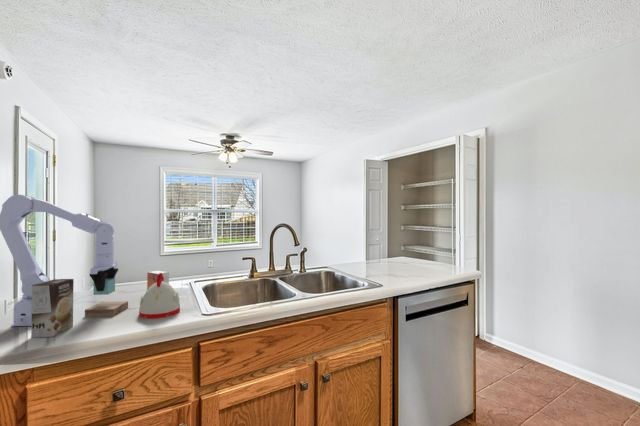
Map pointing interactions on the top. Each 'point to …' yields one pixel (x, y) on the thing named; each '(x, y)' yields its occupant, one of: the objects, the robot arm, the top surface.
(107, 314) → the walnut block
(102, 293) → the teal cube
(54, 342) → the top surface
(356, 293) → the top surface
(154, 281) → the small box
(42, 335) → the coffee box
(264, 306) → the top surface
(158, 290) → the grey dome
